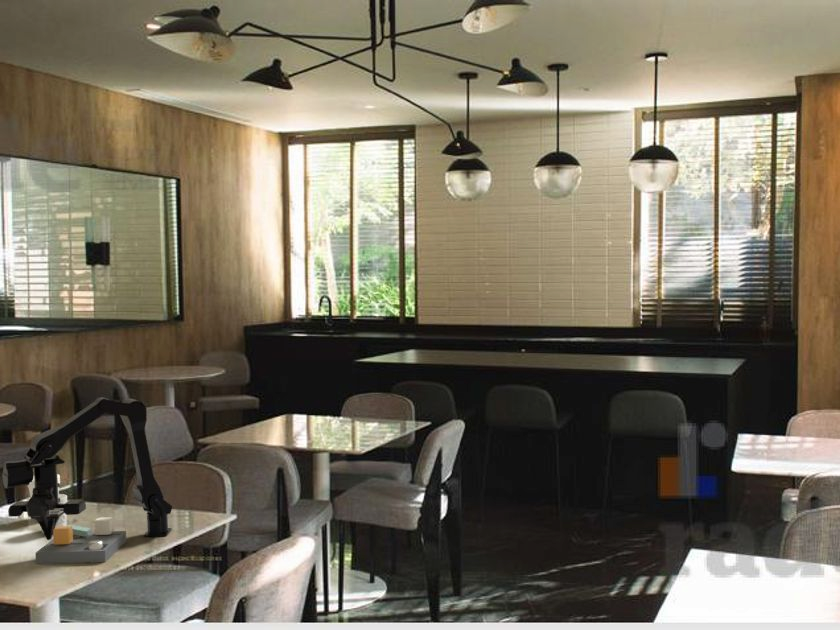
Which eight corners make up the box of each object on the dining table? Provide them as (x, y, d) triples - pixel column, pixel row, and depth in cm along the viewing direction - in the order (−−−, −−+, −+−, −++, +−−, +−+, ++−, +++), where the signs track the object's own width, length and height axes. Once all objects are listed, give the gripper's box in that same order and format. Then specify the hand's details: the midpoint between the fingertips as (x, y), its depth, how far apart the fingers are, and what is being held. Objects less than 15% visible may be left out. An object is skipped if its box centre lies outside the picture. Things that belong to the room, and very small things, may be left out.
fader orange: (58, 541, 248) (57, 526, 247) (72, 540, 248) (72, 526, 247) (53, 544, 245) (53, 529, 244) (68, 544, 245) (68, 529, 244)
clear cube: (91, 555, 245) (91, 540, 245) (105, 554, 245) (104, 539, 245) (87, 559, 241) (86, 544, 241) (100, 558, 241) (100, 543, 241)
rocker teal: (68, 529, 255) (69, 524, 254) (89, 533, 255) (90, 528, 255) (64, 532, 252) (65, 527, 252) (85, 536, 252) (86, 531, 252)
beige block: (98, 531, 256) (98, 517, 256) (113, 531, 256) (112, 517, 256) (95, 534, 253) (94, 520, 253) (109, 534, 253) (109, 520, 253)
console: (61, 543, 257) (61, 531, 257) (126, 541, 258) (125, 529, 257) (36, 564, 239) (35, 550, 239) (105, 562, 240) (104, 548, 239)
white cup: (58, 535, 265) (56, 501, 265) (34, 534, 267) (32, 500, 267) (74, 527, 273) (72, 494, 273) (50, 526, 275) (48, 493, 274)
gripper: (-3, 490, 237) (0, 549, 238) (70, 488, 237) (73, 547, 238) (15, 480, 248) (18, 537, 249) (85, 478, 248) (87, 535, 249)
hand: (49, 539), depth 246 cm, fingers closed
